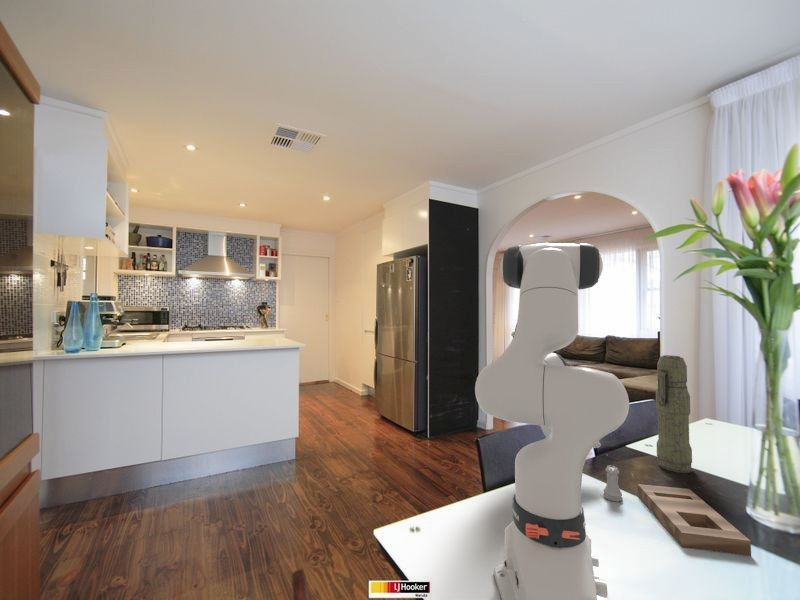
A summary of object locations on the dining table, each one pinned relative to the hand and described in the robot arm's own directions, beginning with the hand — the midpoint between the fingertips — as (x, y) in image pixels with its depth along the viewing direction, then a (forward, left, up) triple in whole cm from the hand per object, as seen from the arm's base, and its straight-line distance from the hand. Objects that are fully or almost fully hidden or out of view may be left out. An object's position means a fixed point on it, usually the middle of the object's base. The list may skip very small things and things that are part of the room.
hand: (587, 449), depth 102 cm
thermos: (+21, -31, -10) cm, 38 cm away
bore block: (-13, -18, -10) cm, 24 cm away
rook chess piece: (-5, -5, -10) cm, 13 cm away
